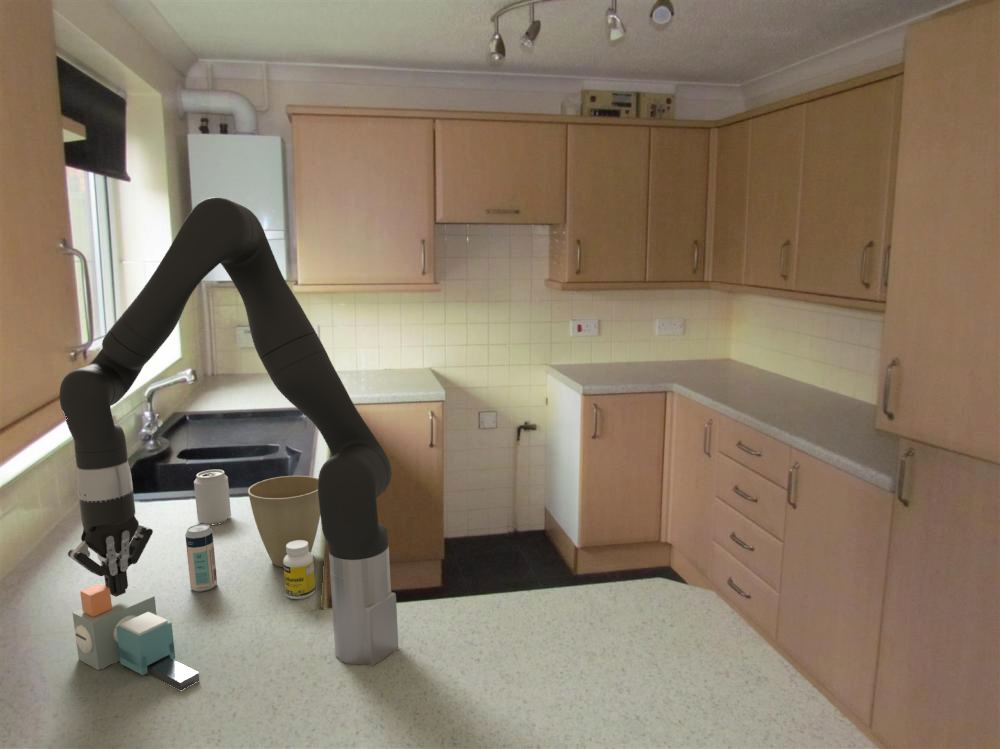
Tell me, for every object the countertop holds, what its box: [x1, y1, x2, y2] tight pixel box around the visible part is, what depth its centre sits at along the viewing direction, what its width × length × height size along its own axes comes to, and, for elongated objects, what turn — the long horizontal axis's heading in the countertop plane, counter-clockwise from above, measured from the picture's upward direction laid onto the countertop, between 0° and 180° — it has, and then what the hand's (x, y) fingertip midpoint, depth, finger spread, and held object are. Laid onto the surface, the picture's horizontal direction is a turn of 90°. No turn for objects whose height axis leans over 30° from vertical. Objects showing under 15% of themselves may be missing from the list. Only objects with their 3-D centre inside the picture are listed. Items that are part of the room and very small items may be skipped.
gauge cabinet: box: [72, 587, 158, 671], centre depth 117 cm, size 6×10×8 cm, turn 147°
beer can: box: [184, 523, 218, 593], centre depth 138 cm, size 5×5×12 cm
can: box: [193, 469, 232, 526], centre depth 173 cm, size 8×8×12 cm
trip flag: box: [79, 583, 112, 617], centre depth 114 cm, size 3×3×4 cm
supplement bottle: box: [283, 540, 316, 600], centre depth 135 cm, size 5×5×10 cm
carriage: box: [116, 612, 176, 676], centre depth 113 cm, size 6×5×6 cm
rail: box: [147, 656, 200, 691], centre depth 112 cm, size 16×3×2 cm, turn 57°
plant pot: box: [247, 475, 321, 568], centre depth 150 cm, size 15×15×16 cm
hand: (118, 593), depth 117 cm, fingers closed
